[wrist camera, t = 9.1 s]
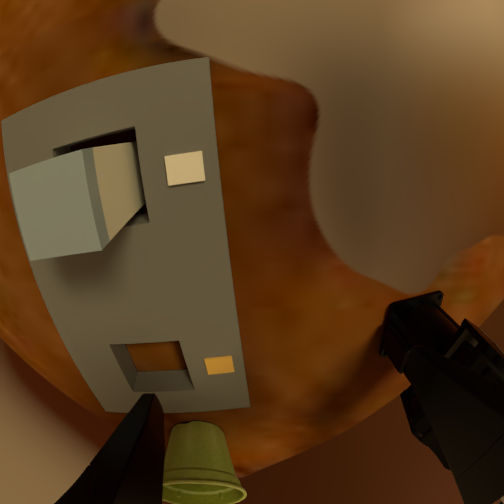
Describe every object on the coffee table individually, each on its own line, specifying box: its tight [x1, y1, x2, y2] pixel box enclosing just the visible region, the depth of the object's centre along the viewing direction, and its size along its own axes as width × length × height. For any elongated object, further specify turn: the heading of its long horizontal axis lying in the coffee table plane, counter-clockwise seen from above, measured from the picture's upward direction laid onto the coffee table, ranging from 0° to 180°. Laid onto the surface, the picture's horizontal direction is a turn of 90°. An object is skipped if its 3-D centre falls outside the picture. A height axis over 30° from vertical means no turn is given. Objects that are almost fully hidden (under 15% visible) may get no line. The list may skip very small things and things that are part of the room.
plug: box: [9, 142, 146, 261], centre depth 13 cm, size 4×4×8 cm
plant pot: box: [162, 421, 247, 504], centre depth 24 cm, size 9×9×9 cm
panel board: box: [1, 57, 251, 413], centre depth 18 cm, size 14×26×3 cm, turn 5°
